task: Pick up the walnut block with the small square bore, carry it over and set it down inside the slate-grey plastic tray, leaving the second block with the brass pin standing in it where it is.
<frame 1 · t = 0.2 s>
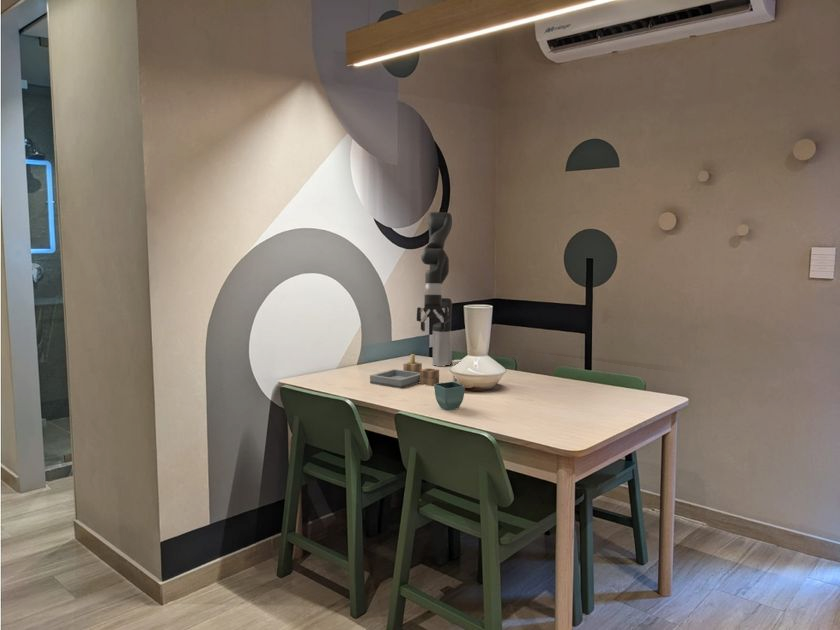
hand: (432, 331, 298), 22 cm above the table, tool pointing down, fingers open, 8 cm apart
tray: (397, 382, 300), on the table
flower pot: (449, 408, 255), on the table
bored block: (429, 383, 297), on the table
ink box: (463, 388, 289), on the table
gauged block: (412, 376, 312), on the table
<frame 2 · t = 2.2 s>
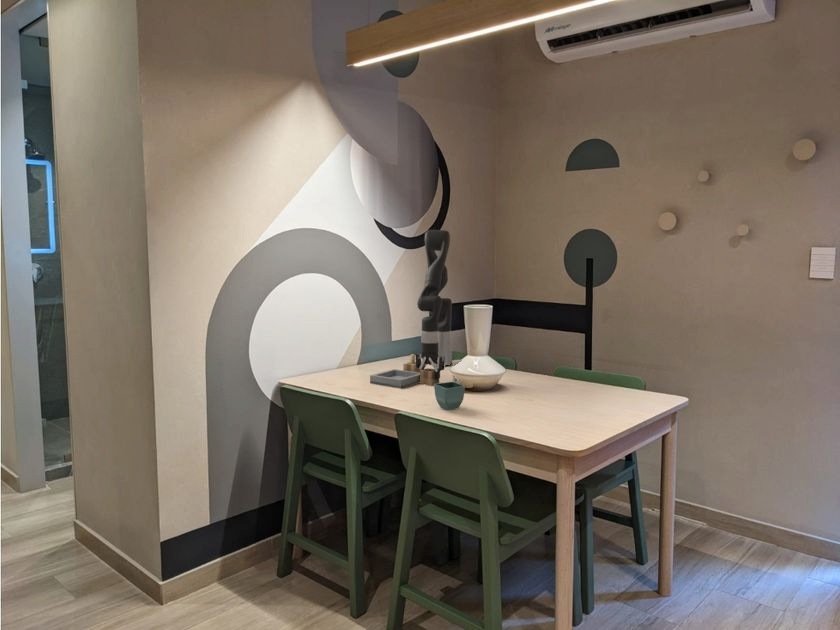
hand: (429, 378, 296), 2 cm above the table, tool pointing down, fingers open, 7 cm apart
bored block: (429, 383, 297), on the table, touching gripper
everything else where it was.
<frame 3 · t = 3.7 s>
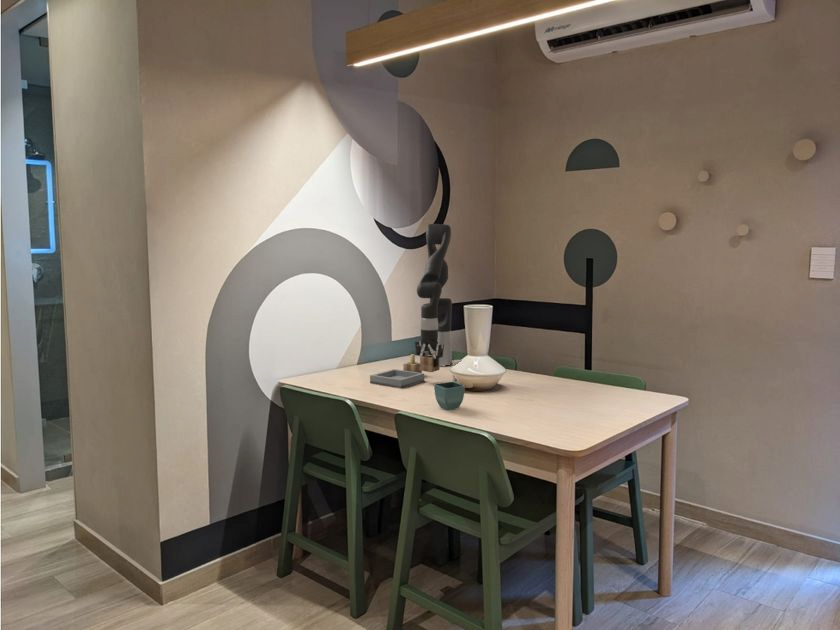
hand: (429, 366, 296), 8 cm above the table, tool pointing down, fingers closed on bored block, 6 cm apart
bored block: (429, 370, 297), point 6 cm above the table, touching gripper
everything else where it was.
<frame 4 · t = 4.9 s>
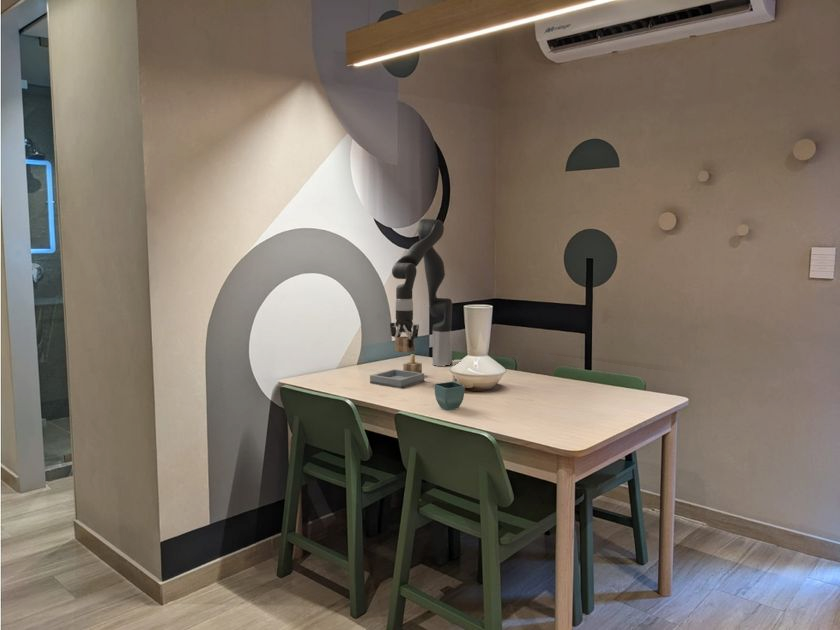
hand: (404, 347, 297), 16 cm above the table, tool pointing down, fingers closed on bored block, 6 cm apart
bored block: (405, 351, 297), point 14 cm above the table, touching gripper
everything else where it was.
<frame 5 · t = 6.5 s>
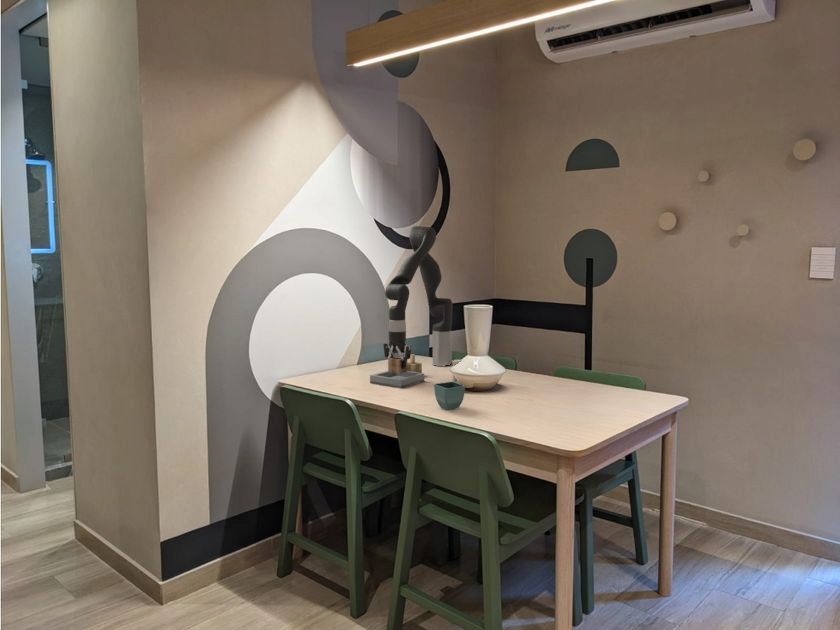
hand: (397, 367, 299), 6 cm above the table, tool pointing down, fingers closed on bored block, 6 cm apart
bored block: (397, 371, 299), point 5 cm above the table, touching gripper
everything else where it was.
when the fingers open (3 cm above the table, at t = 7.6 s): bored block stays where it is, resting on tray.
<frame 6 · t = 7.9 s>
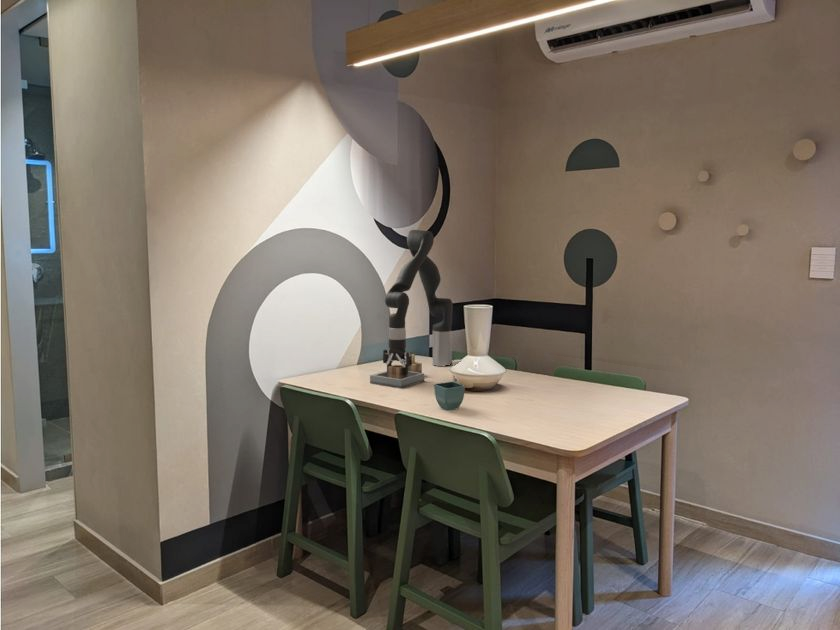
hand: (397, 374, 299), 4 cm above the table, tool pointing down, fingers open, 8 cm apart
bored block: (398, 379, 300), point 1 cm above the table, touching tray
everything else where it was.
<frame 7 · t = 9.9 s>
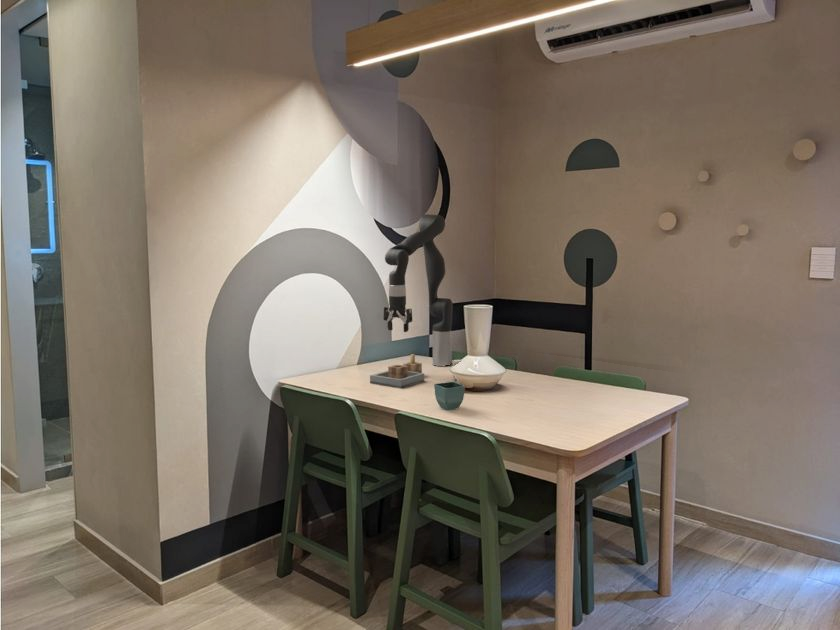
hand: (398, 331, 303), 22 cm above the table, tool pointing down, fingers open, 8 cm apart
nothing on the table moved.
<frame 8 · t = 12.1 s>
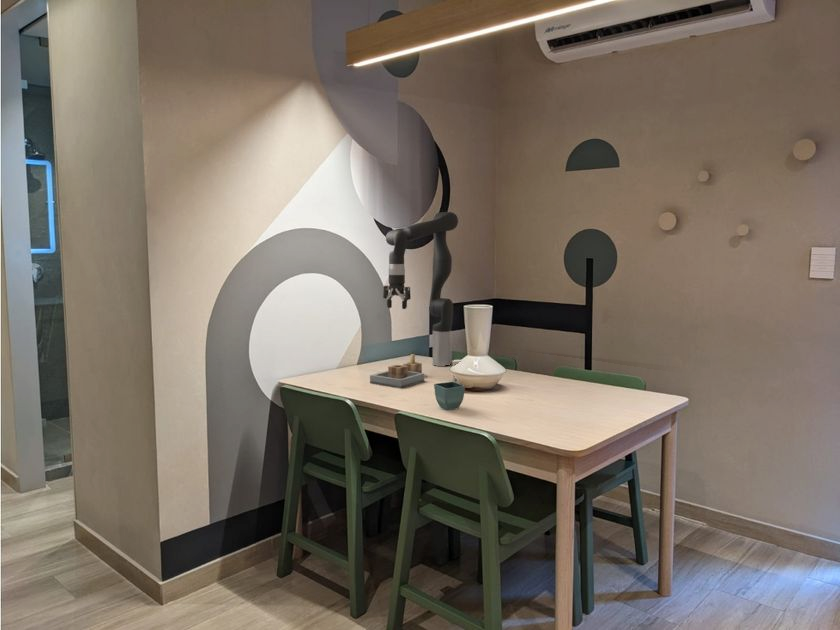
hand: (396, 308, 319), 30 cm above the table, tool pointing down, fingers open, 8 cm apart
nothing on the table moved.
at the end: bored block inside the target area on the tray (0.4 cm from its centre), point 1.0 cm above the tray's base; bored block tilted 0°; the gripper is holding nothing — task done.
